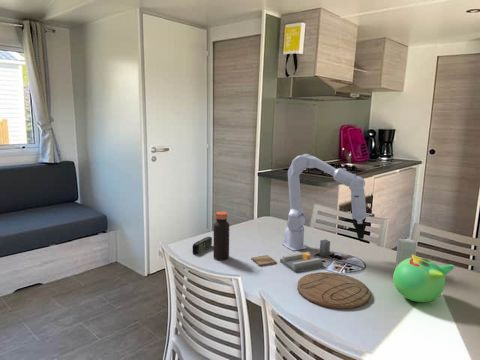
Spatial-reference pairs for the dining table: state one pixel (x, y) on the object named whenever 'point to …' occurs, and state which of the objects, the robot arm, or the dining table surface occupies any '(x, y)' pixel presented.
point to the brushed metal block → (324, 248)
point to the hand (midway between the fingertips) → (360, 235)
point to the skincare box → (405, 250)
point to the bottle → (221, 237)
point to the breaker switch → (306, 256)
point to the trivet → (333, 290)
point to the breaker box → (300, 262)
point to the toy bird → (420, 279)
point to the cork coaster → (263, 260)
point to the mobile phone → (202, 245)
